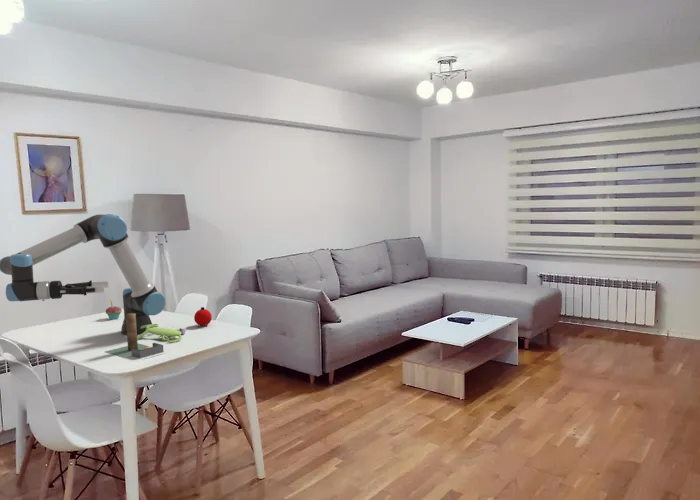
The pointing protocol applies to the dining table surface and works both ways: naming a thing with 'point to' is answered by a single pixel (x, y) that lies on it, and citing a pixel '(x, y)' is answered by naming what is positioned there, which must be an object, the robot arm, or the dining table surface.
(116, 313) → the cupcake
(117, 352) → the mat
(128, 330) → the peg
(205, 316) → the ornament
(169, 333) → the figurine
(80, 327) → the dining table surface
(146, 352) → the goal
